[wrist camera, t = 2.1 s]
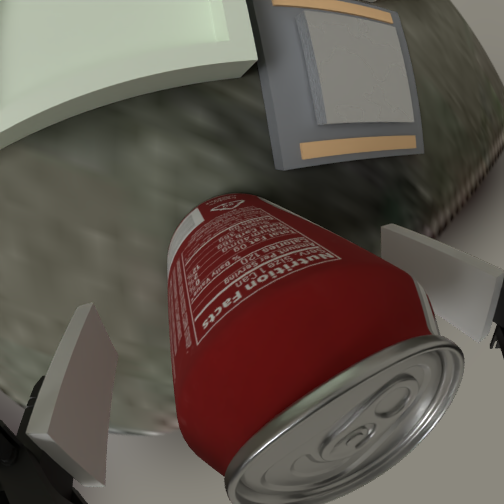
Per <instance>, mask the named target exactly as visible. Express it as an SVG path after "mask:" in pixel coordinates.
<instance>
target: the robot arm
mask: <svg viewBox="0 0 504 504" xmlns="http://www.w3.org/2000/svg"><path fill="white" fill-rule="evenodd" d="M381 258H382V259H384V260H385V261H387V262H389V263H391V264H393V265H394V266H396V267H398V268H400V269H402V270H403V271H405V272H407V273H408V274H409V275H411V276H412V277H413V278H414V279H416V281H417V282H418V283H419V284H420V285H421V286H422V287H423V289H424V290H425V292H426V294H427V295H428V297H429V300H430V302H431V305H432V308H433V311H434V313H436V314H437V315H439V316H440V317H441V318H443V319H444V320H446V321H448V322H449V323H450V324H452V325H453V326H455V327H456V328H458V329H459V330H461V331H462V332H463V333H465V334H466V335H468V336H469V337H470V338H472V339H473V340H475V341H476V342H478V343H479V342H481V341H482V340H483V339H484V338H485V337H486V336H487V335H488V333H489V331H490V328H491V325H492V321H493V322H495V323H496V324H497V326H496V329H495V332H494V335H493V338H492V340H491V343H490V349H492V348H493V345H494V343H495V341H497V344H496V347H495V348H501V351H502V355H503V358H504V270H503V269H501V268H498V267H496V266H494V265H492V264H490V263H488V262H485V261H483V260H481V259H479V258H477V257H474V256H472V255H470V254H468V253H465V252H462V251H460V250H458V249H456V248H453V247H451V246H449V245H446V244H444V243H442V242H439V241H437V240H434V239H432V238H429V237H427V236H424V235H422V234H419V233H417V232H414V231H411V230H409V229H406V228H403V227H401V226H398V225H395V224H393V223H392V224H388V225H384V226H381ZM117 359H118V354H117V352H116V350H115V348H114V346H113V344H112V342H111V340H110V338H109V336H108V334H107V332H106V329H105V327H104V325H103V323H102V321H101V319H100V316H99V314H98V312H97V310H96V307H95V305H94V303H93V302H92V303H88V304H84V305H80V306H78V307H77V309H76V311H75V313H74V315H73V317H72V319H71V321H70V323H69V325H68V327H67V329H66V331H65V333H64V335H63V337H62V339H61V342H60V344H59V346H58V348H57V350H56V353H55V355H54V357H53V359H52V362H51V364H50V367H49V369H48V371H47V374H46V376H42V377H41V378H40V380H39V381H38V382H37V383H36V385H35V386H34V388H33V391H32V393H31V396H30V399H29V401H28V404H27V408H26V409H25V412H24V415H23V418H22V420H21V423H20V426H19V429H18V433H17V436H15V435H14V433H13V432H12V431H11V430H10V429H9V428H8V427H7V426H6V425H5V424H4V423H3V421H2V420H0V504H88V503H87V502H86V501H85V500H84V498H83V497H82V496H81V494H80V493H79V492H78V491H77V490H76V489H75V488H74V487H72V485H73V478H74V479H76V480H77V481H78V482H79V483H81V484H82V485H83V486H86V487H105V478H106V454H107V439H108V428H109V417H110V408H111V400H112V392H113V385H114V378H115V372H116V365H117Z"/></svg>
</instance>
